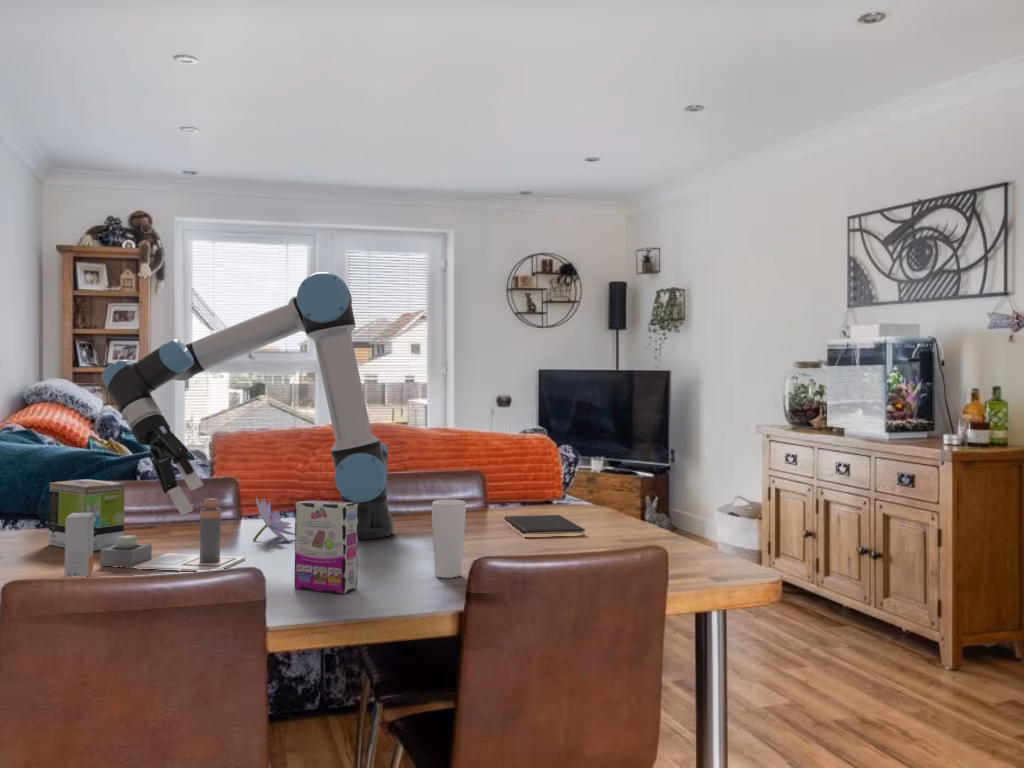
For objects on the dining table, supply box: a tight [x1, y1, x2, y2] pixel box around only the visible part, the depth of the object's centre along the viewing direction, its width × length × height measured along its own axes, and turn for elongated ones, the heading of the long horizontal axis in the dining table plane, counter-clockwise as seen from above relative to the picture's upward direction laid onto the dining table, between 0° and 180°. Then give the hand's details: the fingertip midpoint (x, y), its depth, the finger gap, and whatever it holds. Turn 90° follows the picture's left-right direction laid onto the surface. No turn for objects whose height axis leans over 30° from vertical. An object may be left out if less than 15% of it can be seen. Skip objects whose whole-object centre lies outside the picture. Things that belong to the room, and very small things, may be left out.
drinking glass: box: [431, 499, 467, 579], centre depth 174 cm, size 7×7×15 cm
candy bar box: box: [294, 499, 359, 595], centre depth 162 cm, size 11×5×16 cm, turn 69°
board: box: [133, 552, 246, 571], centre depth 181 cm, size 18×13×1 cm
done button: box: [116, 534, 138, 549], centre depth 180 cm, size 4×4×2 cm
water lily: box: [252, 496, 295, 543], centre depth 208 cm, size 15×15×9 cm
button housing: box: [100, 543, 153, 568], centre depth 180 cm, size 7×7×4 cm
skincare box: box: [63, 513, 94, 577], centre depth 170 cm, size 6×4×12 cm
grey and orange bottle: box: [199, 498, 222, 563], centre depth 181 cm, size 4×4×13 cm
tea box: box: [48, 478, 125, 552], centre depth 198 cm, size 15×10×15 cm, turn 57°
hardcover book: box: [503, 514, 586, 534], centre depth 228 cm, size 16×23×2 cm
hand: (192, 500), depth 190 cm, fingers open, 13 cm apart
